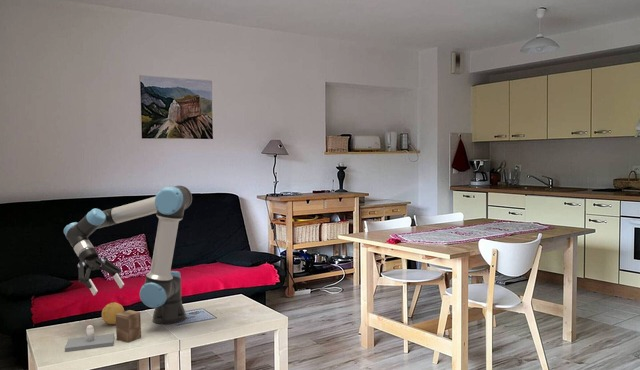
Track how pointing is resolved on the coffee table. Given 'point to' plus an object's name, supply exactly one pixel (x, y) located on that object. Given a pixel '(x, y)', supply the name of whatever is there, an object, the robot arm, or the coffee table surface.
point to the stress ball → (111, 312)
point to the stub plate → (89, 341)
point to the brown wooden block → (128, 326)
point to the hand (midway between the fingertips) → (109, 289)
